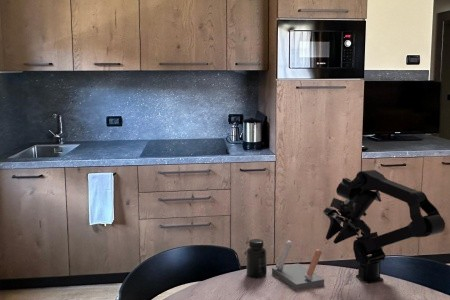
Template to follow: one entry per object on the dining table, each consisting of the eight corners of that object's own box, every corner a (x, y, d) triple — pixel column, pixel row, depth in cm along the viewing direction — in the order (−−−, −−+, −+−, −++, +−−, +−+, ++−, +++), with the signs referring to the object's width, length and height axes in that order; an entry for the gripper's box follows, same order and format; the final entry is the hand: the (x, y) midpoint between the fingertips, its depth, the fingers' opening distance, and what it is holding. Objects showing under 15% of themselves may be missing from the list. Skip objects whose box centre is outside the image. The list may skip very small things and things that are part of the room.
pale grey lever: (279, 268, 158) (290, 240, 158) (283, 271, 155) (294, 242, 156) (274, 266, 157) (285, 239, 157) (277, 269, 155) (289, 240, 155)
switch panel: (298, 268, 162) (298, 263, 162) (324, 285, 148) (324, 279, 148) (272, 273, 158) (272, 267, 158) (296, 290, 144) (296, 284, 144)
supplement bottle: (265, 271, 160) (265, 237, 159) (267, 278, 154) (268, 243, 152) (245, 271, 160) (245, 237, 159) (247, 278, 153) (247, 244, 152)
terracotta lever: (308, 278, 149) (319, 249, 149) (312, 281, 146) (324, 251, 147) (302, 277, 148) (314, 247, 148) (307, 279, 146) (319, 249, 146)
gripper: (328, 183, 158) (300, 218, 155) (365, 195, 141) (333, 234, 138) (346, 204, 162) (319, 238, 159) (383, 217, 145) (354, 256, 142)
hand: (330, 241), depth 150 cm, fingers open, 4 cm apart
